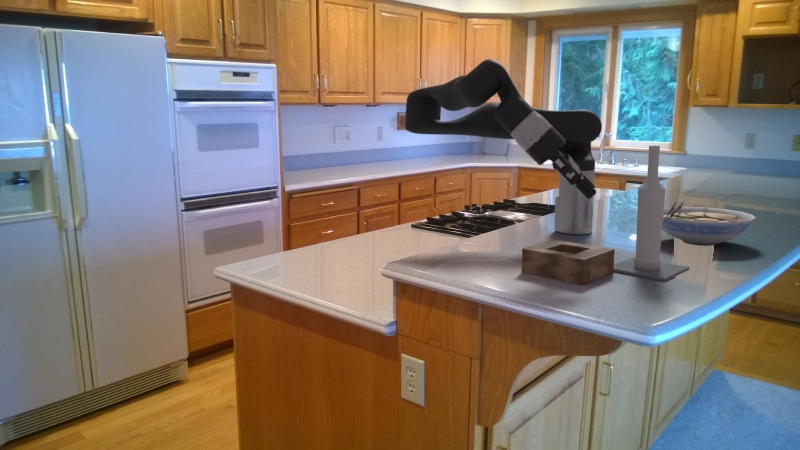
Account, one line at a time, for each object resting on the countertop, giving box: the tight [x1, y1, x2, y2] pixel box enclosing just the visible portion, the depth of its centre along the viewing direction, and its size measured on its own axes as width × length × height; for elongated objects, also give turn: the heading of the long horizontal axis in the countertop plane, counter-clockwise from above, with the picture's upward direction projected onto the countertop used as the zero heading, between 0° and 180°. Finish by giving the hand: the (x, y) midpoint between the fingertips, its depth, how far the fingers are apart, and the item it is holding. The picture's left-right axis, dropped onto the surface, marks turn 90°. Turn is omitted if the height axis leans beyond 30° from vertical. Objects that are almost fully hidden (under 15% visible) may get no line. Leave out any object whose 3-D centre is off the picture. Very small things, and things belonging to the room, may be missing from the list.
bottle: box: [633, 145, 666, 270], centre depth 118 cm, size 5×5×25 cm
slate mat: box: [613, 257, 690, 282], centre depth 121 cm, size 12×12×1 cm
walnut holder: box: [521, 239, 615, 286], centre depth 119 cm, size 14×12×5 cm
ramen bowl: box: [662, 201, 757, 247], centre depth 144 cm, size 25×23×8 cm
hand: (592, 193), depth 121 cm, fingers open, 8 cm apart
